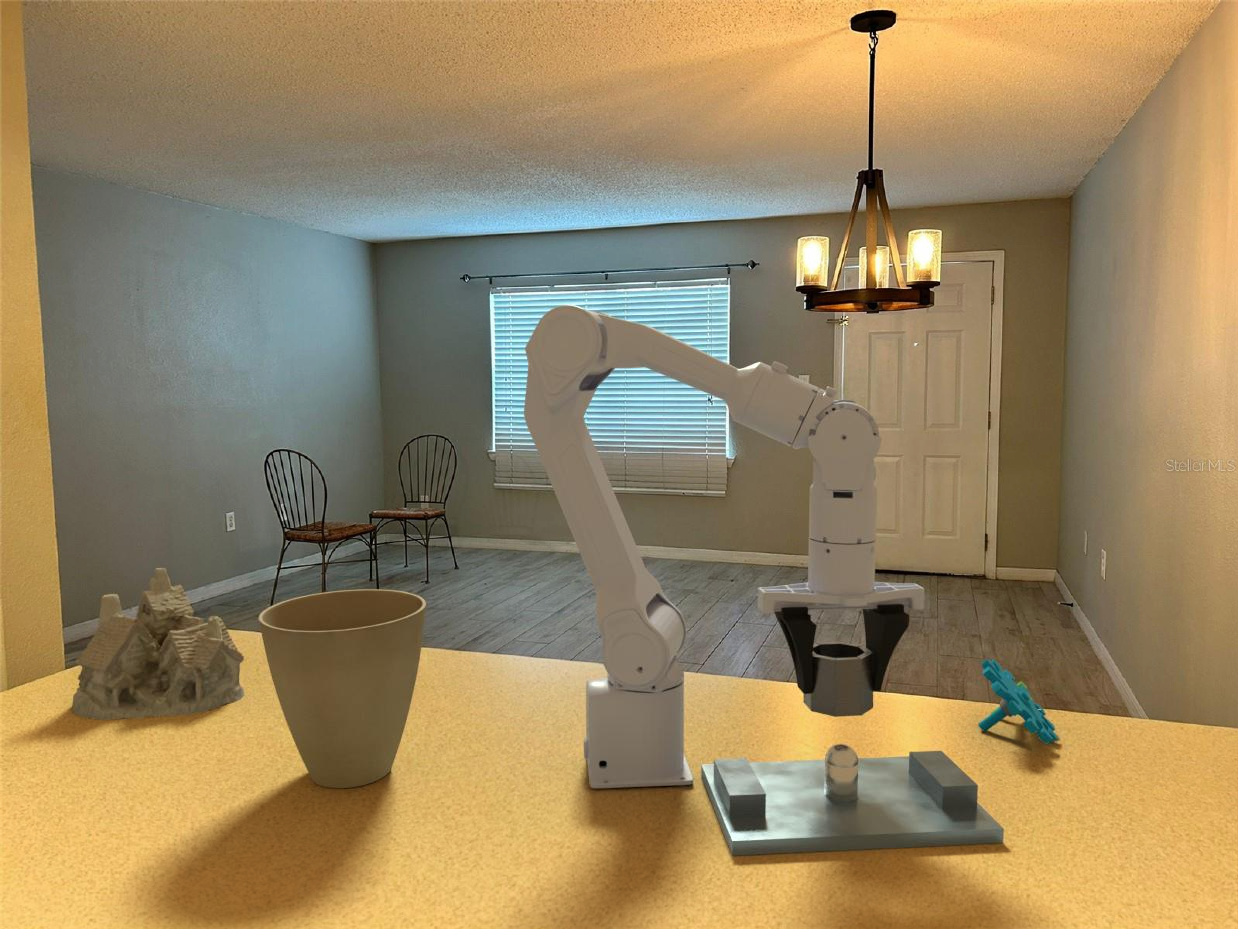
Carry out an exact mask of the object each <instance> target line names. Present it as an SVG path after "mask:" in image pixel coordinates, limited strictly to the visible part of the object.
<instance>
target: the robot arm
mask: <svg viewBox="0 0 1238 929" xmlns="http://www.w3.org/2000/svg"><path fill="white" fill-rule="evenodd" d="M524 350H525V355H526V359H527V364H528V366H527V376H526V378H527V379H526V387H525V397H524V409H523V411H524V412H523V418H524V420H525V425H526V426H527V430H528V431H529V434H530V436H531V438H532V441H533V443H534V445H535V448H536V450H537V453H538V455H539V458H540V460H541V463H542V465H543V468H544V470H545V472H546V475H547V477H548V480H549V482H550V484H551V487H552V489H553V492H554V494H555V496H556V499H557V501H558V504H559V506H560V508H561V511H562V514H563V516H564V518H565V521H566V523H567V525H568V529H570V533H571V535H572V537H573V540H574V542H575V545H576V547H577V550H578V551H579V553H580V557H581V559H582V561H583V564H584V566H585V568H586V571H587V573H588V576H589V578H590V580H591V583H592V586H593V588H594V590H595V594H596V596H595V597H596V601H595V602H596V603H595V606H596V608H595V620H596V623H597V625H598V629H599V631H600V635H601V641H602V642H601V652H600V653H601V659H602V664H603V666H604V668H605V671H606V673H607V676H604V677H602V678H595V679H589V680H586V684H585V687H586V688H585V689H586V691H585V701H586V702H585V706H586V707H585V710H586V712H585V713H586V714H585V717H586V718H585V721H586V722H585V723H586V725H585V726H586V727H585V728H586V730H585V731H586V732H585V733H586V735H585V736H586V738H584V739H583V758H584V759H586V764H587V773H588V774H587V775H588V782H589V787H590V788H592V789H614V788H615V789H617V788H639V787H641V788H642V787H643V788H644V787H664V786H669V787H670V786H687V785H692V784H694V776H693V774H692V771H691V769H690V766H689V763H688V761H687V758H686V755H685V753H684V752H685V750H684V749H685V748H684V746H685V743H684V740H685V738H684V737H685V736H684V735H685V728H684V727H685V724H684V723H685V672H684V670H683V669H682V668H681V665H680V663H679V662H678V659H677V654H678V653H679V652H680V651H681V649H682V648H683V646H684V644H685V642H686V640H687V634H688V630H687V627H688V626H687V623H686V622H687V621H686V620H685V616H684V615H683V613H682V611H681V610H680V609H679V608H678V607H677V606H676V605H675V604H673V603H672V602H671V601H670V600H669V599H668V598H667V596H666V594H665V593H664V591H663V589H662V587H661V583H660V582H659V581H658V580H657V579H656V577H654V576H653V575H652V574H651V573H650V572H649V571H648V570H647V568H646V565H645V564H644V561H643V558H642V557H641V554H640V552H639V550H638V547H637V544H636V541H635V540H634V539H635V538H634V537H633V535H632V532H631V530H630V527H629V525H628V522H627V521H626V518H625V515H624V514H623V511H622V509H621V506H620V503H619V501H618V499H617V496H616V494H615V491H614V489H613V487H612V484H611V481H610V479H609V477H608V475H607V472H606V469H605V467H604V465H603V463H602V460H601V458H600V456H599V453H598V450H597V449H596V446H595V443H594V441H593V438H592V436H591V434H590V431H589V429H588V426H587V424H586V421H585V418H584V417H585V414H586V412H587V410H588V408H589V406H590V404H591V402H592V400H593V397H594V396H595V394H596V391H597V389H598V387H599V386H600V385H601V384H602V383H603V382H604V381H605V380H606V379H607V378H608V377H609V376H610V375H611V374H612V373H613V372H614V371H615V370H616V369H637V368H646V369H648V370H651V371H653V372H656V373H658V374H661V375H663V376H665V377H668V378H670V379H672V380H675V381H677V382H678V383H679V382H680V383H682V384H684V385H687V386H689V387H692V388H694V389H697V390H699V391H701V392H703V393H706V394H708V395H711V396H713V397H715V398H718V399H721V400H723V401H724V403H725V404H726V406H727V408H728V409H727V410H728V411H729V414H730V417H731V419H732V420H733V422H735V423H738V424H740V425H742V426H744V427H747V428H749V429H751V430H753V431H755V432H757V433H759V434H761V435H764V436H766V437H768V438H771V439H773V440H775V441H776V442H779V443H781V444H783V445H785V446H787V447H790V448H791V447H792V449H794V450H799V449H803V448H807V449H809V451H810V454H811V456H812V457H813V466H812V467H813V468H812V470H813V471H812V472H813V473H812V484H811V485H810V486H809V512H808V515H809V517H808V518H809V520H808V563H807V564H808V567H807V568H808V570H807V571H808V573H807V574H808V575H807V578H808V579H807V582H801V583H791V584H785V585H783V584H782V585H777V586H760V587H758V588H757V609H758V610H759V611H760V613H762V614H763V615H772V614H774V615H775V617H776V620H777V622H778V625H779V626H780V628H781V631H782V633H783V635H784V638H785V640H786V644H787V646H788V648H789V651H790V652H789V653H790V655H791V658H792V664H793V665H794V666H793V667H794V672H795V677H796V685H797V688H798V689H799V690H800V691H801V693H802V694H803V695H804V694H812V686H813V673H812V656H813V646H814V643H815V638H816V632H817V628H818V626H817V624H816V623H815V622H813V621H812V614H809V611H835V610H836V611H840V610H842V611H843V610H845V611H846V610H862V615H863V622H864V636H865V647H866V648H867V649H869V650H870V651H871V652H873V692H881V691H882V686H883V683H884V679H885V675H886V672H887V669H888V666H889V663H890V660H891V658H892V656H893V654H894V652H895V649H896V647H897V646H898V643H899V641H900V640H901V639H902V637H903V635H904V634H905V632H906V631H907V630H908V628H909V624H910V615H909V614H908V613H906V612H905V609H907V608H909V609H910V610H924V609H925V588H924V587H923V586H921V585H919V584H917V583H915V582H914V583H910V582H909V583H907V582H905V583H903V582H902V583H900V582H898V583H897V582H884V581H883V582H881V581H875V580H876V578H875V577H876V548H877V547H876V545H877V544H876V542H877V540H876V539H877V538H876V537H877V508H878V507H877V506H878V503H877V502H878V499H877V498H878V490H877V486H876V485H875V481H876V478H877V466H876V464H875V458H876V457H877V455H878V453H879V451H880V448H881V443H882V437H881V436H880V431H879V426H878V425H877V422H876V420H875V418H874V416H873V415H872V413H871V412H870V411H868V409H866V408H865V407H863V406H861V405H860V404H858V403H857V402H856V401H855V400H853V399H849V398H848V399H847V398H845V399H842V398H841V399H836V400H835V398H836V397H837V395H838V390H837V389H836V388H834V387H831V386H826V389H825V390H824V389H823V388H820V387H818V386H816V385H813V384H811V383H809V382H807V381H805V380H803V379H800V378H797V377H796V376H793V375H791V374H789V373H787V371H788V369H789V367H788V366H787V365H785V364H783V363H780V362H778V361H773V362H772V363H771V365H770V364H769V365H768V364H766V363H764V362H762V361H759V362H755V363H752V364H749V365H748V366H745V367H743V368H738V367H737V366H736V367H735V366H734V365H731V364H729V363H727V362H726V361H723V360H721V359H719V358H717V357H715V356H713V355H711V354H709V353H706V352H705V351H702V350H701V349H699V348H696V347H694V346H693V345H690V344H689V343H686V342H684V341H682V340H679V339H678V338H676V337H673V336H671V335H669V334H667V333H666V332H663V331H661V330H659V329H656V328H655V327H652V326H651V325H650V326H649V325H646V324H642V323H639V322H635V321H630V320H626V319H622V318H618V317H613V316H610V315H609V314H608V313H605V312H602V311H590V310H587V309H585V308H583V307H580V306H578V305H573V304H572V305H571V304H564V305H563V304H562V305H558V306H556V307H553V308H551V309H550V310H548V311H547V312H545V314H543V316H542V317H541V318H540V320H539V321H538V323H537V325H536V327H535V328H534V330H533V332H532V334H531V336H530V337H529V340H528V342H527V343H526V345H525V347H524Z"/></svg>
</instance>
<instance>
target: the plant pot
mask: <svg viewBox="0 0 1238 929" xmlns="http://www.w3.org/2000/svg"><path fill="white" fill-rule="evenodd" d="M426 607H427V602H426V600H425V599H424V598H423V597H422V596H420V595H418V594H414V593H411V592H407V591H403V590H394V589H373V588H372V589H370V588H369V589H367V588H364V589H363V588H362V589H361V588H360V589H347V590H335V591H327V592H319V593H313V594H308V595H303V596H298V597H294V598H290V599H287V600H284V601H280V602H278V603H276V604H273V605H271V606H269V607H267V608H266V609H264V610H262V612H261V613H259V615H258V623H259V628H260V629H259V630H260V633H261V637H262V642H263V646H264V652H265V656H266V661H267V664H268V668H269V672H270V675H271V679H272V683H273V686H274V690H275V694H276V695H277V698H278V701H279V706H280V707H281V711H282V713H283V716H284V720H285V722H286V724H287V727H288V730H289V732H290V734H291V736H292V739H293V742H294V743H295V744H294V745H295V746H296V749H297V751H298V753H299V755H300V757H301V759H302V762H303V764H304V766H305V769H306V770H307V772H308V774H309V776H310V778H311V780H312V781H313V782H314V783H315V784H316V785H318V786H321V787H325V788H329V789H349V788H356V787H362V786H365V785H369V784H372V783H374V782H376V781H378V780H380V779H382V778H384V777H385V776H387V775H388V773H390V771H392V768H393V765H394V762H395V760H396V756H397V753H398V750H399V748H400V744H401V740H402V739H403V738H402V737H403V734H404V731H405V727H406V723H407V720H408V716H409V713H410V709H411V703H412V701H413V699H412V698H413V695H414V690H415V686H416V681H417V676H418V672H419V671H418V670H419V666H420V660H421V652H422V651H421V650H422V645H423V636H424V628H425V618H426V617H425V616H426V609H427V608H426Z"/></svg>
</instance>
